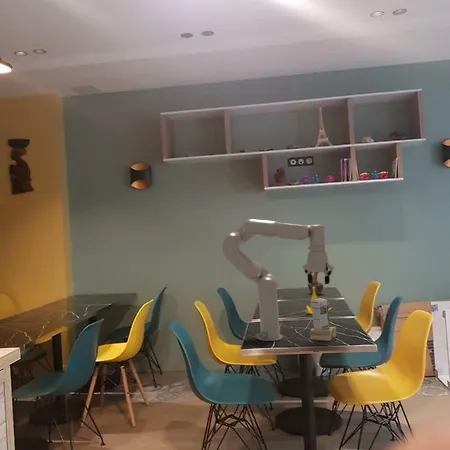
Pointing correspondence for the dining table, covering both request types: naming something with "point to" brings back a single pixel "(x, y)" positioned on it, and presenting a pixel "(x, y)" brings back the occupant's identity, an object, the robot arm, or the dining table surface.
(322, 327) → the syrup box
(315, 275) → the mortar and pestle
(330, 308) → the banana peel
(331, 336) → the beech block
